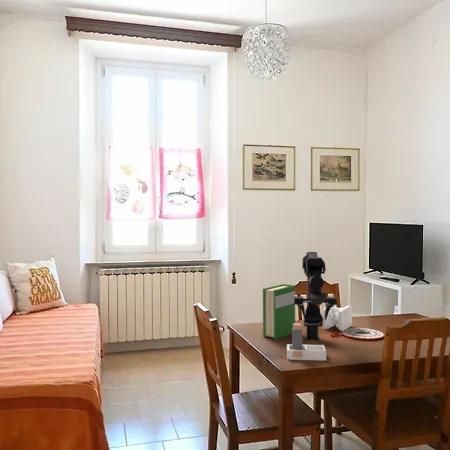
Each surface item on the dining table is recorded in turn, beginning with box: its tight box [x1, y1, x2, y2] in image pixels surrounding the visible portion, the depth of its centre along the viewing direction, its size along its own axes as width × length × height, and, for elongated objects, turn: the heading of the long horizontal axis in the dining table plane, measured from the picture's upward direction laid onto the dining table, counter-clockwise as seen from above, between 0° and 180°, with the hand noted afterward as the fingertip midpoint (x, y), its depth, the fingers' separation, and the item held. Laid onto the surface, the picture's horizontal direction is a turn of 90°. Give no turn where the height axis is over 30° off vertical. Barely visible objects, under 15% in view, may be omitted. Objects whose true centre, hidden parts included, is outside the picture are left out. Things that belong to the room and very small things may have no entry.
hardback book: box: [262, 283, 296, 340], centre depth 237 cm, size 18×7×24 cm, turn 139°
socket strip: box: [286, 343, 327, 361], centre depth 202 cm, size 9×16×4 cm, turn 84°
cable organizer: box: [323, 305, 353, 332], centre depth 248 cm, size 15×11×12 cm
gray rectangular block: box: [291, 322, 303, 350], centre depth 202 cm, size 4×4×13 cm
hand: (315, 319), depth 214 cm, fingers open, 9 cm apart
